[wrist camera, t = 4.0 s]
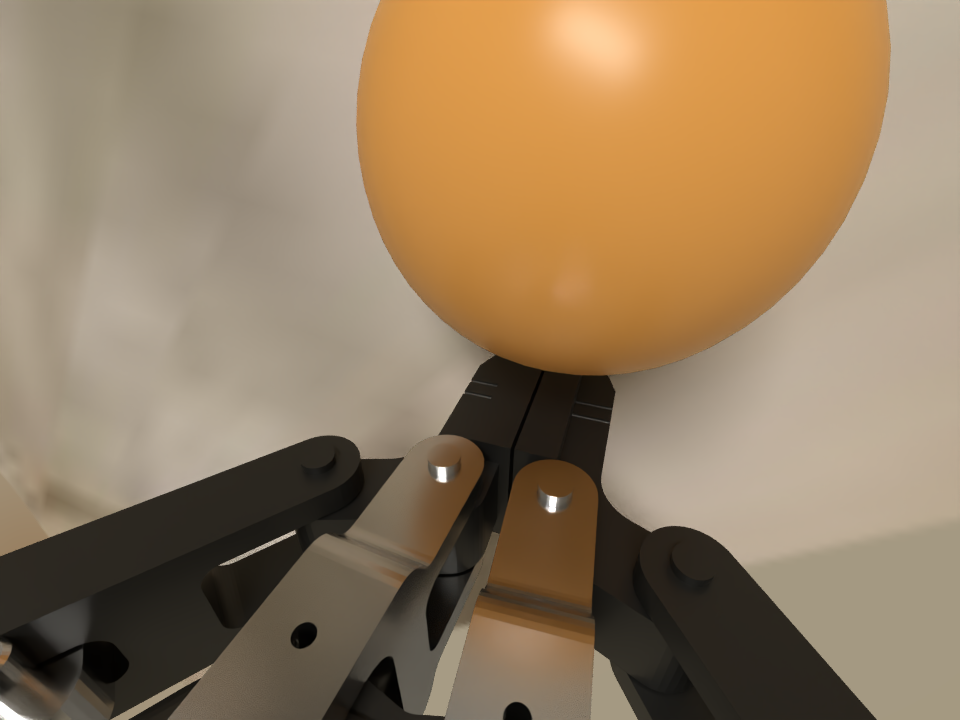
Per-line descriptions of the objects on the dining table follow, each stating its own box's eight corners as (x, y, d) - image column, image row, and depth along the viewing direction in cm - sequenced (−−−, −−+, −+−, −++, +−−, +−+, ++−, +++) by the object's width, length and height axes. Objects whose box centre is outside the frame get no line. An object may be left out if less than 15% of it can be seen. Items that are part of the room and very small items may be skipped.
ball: (456, -88, 8) (119, -301, 3) (884, -124, 6) (1556, -691, 1) (462, 259, 11) (303, 414, 6) (745, 296, 10) (815, 540, 5)
